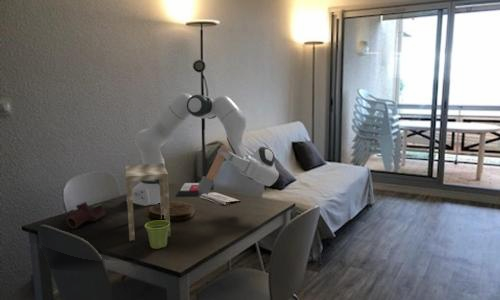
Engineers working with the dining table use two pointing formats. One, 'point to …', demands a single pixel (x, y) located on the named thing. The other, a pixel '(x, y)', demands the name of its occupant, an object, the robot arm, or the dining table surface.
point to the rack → (147, 174)
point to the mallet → (212, 172)
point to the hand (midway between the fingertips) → (219, 151)
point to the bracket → (84, 214)
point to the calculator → (189, 190)
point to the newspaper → (218, 198)
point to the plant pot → (157, 233)
